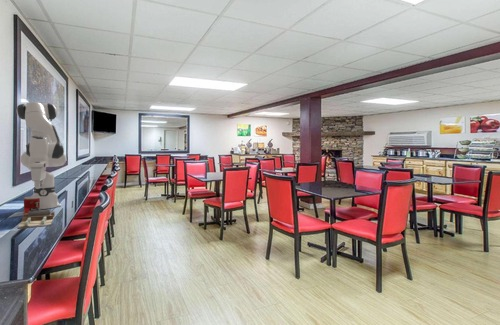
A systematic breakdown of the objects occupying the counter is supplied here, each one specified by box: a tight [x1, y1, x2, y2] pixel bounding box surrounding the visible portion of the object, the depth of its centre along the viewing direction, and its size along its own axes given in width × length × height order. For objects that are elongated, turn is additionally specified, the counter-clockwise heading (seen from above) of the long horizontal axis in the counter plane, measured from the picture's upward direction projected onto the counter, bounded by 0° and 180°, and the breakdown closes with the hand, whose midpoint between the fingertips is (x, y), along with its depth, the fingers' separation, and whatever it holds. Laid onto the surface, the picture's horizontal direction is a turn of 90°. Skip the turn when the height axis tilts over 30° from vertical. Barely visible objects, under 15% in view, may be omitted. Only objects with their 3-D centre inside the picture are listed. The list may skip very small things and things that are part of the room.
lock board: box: [17, 210, 56, 230], centre depth 156 cm, size 24×14×4 cm, turn 31°
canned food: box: [23, 195, 41, 215], centre depth 171 cm, size 8×8×11 cm
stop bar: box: [28, 208, 51, 217], centre depth 161 cm, size 10×3×4 cm, turn 121°
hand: (39, 187), depth 160 cm, fingers open, 8 cm apart
